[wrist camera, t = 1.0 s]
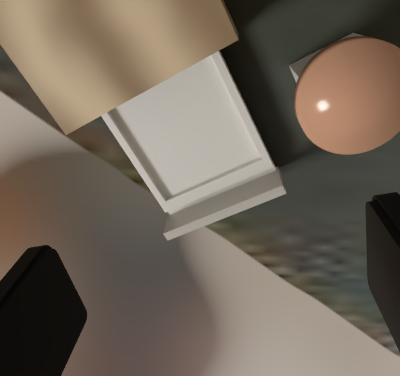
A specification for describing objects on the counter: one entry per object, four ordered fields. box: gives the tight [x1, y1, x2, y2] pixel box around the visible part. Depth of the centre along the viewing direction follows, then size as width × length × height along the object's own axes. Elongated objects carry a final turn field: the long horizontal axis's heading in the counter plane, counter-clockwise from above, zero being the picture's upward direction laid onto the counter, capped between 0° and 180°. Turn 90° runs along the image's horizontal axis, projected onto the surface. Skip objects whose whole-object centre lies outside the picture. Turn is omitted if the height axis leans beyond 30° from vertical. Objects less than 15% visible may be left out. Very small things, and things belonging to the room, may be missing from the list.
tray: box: [101, 50, 286, 240], centre depth 28 cm, size 11×14×4 cm
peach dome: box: [294, 36, 400, 154], centre depth 23 cm, size 7×7×2 cm
